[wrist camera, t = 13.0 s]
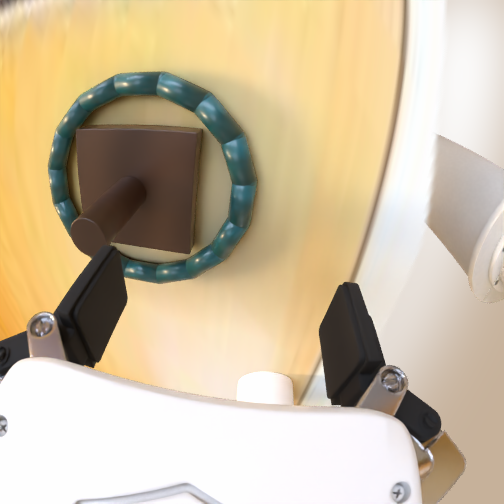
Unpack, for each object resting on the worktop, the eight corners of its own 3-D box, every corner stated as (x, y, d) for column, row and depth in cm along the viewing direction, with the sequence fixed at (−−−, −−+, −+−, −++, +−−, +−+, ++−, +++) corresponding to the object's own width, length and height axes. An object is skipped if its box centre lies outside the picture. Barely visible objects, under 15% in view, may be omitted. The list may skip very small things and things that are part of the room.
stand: (202, 128, 17) (165, 159, 11) (193, 243, 22) (168, 313, 16) (86, 125, 16) (17, 156, 10) (95, 229, 21) (49, 285, 15)
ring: (274, 81, 15) (275, 80, 14) (239, 287, 24) (237, 300, 23) (53, 82, 14) (40, 85, 13) (72, 258, 23) (64, 268, 22)
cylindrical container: (237, 394, 36) (224, 559, 15) (239, 369, 32) (223, 569, 11) (287, 397, 36) (288, 559, 15) (297, 372, 32) (302, 568, 11)
